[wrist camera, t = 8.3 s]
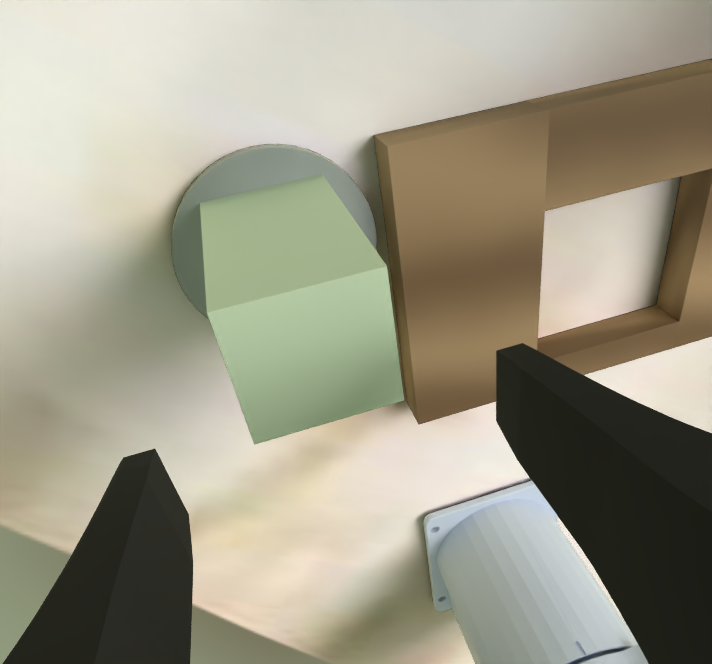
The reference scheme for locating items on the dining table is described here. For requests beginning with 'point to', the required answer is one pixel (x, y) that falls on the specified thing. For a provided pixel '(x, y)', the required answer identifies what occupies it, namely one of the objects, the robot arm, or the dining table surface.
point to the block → (298, 307)
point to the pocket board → (538, 227)
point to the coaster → (249, 174)
